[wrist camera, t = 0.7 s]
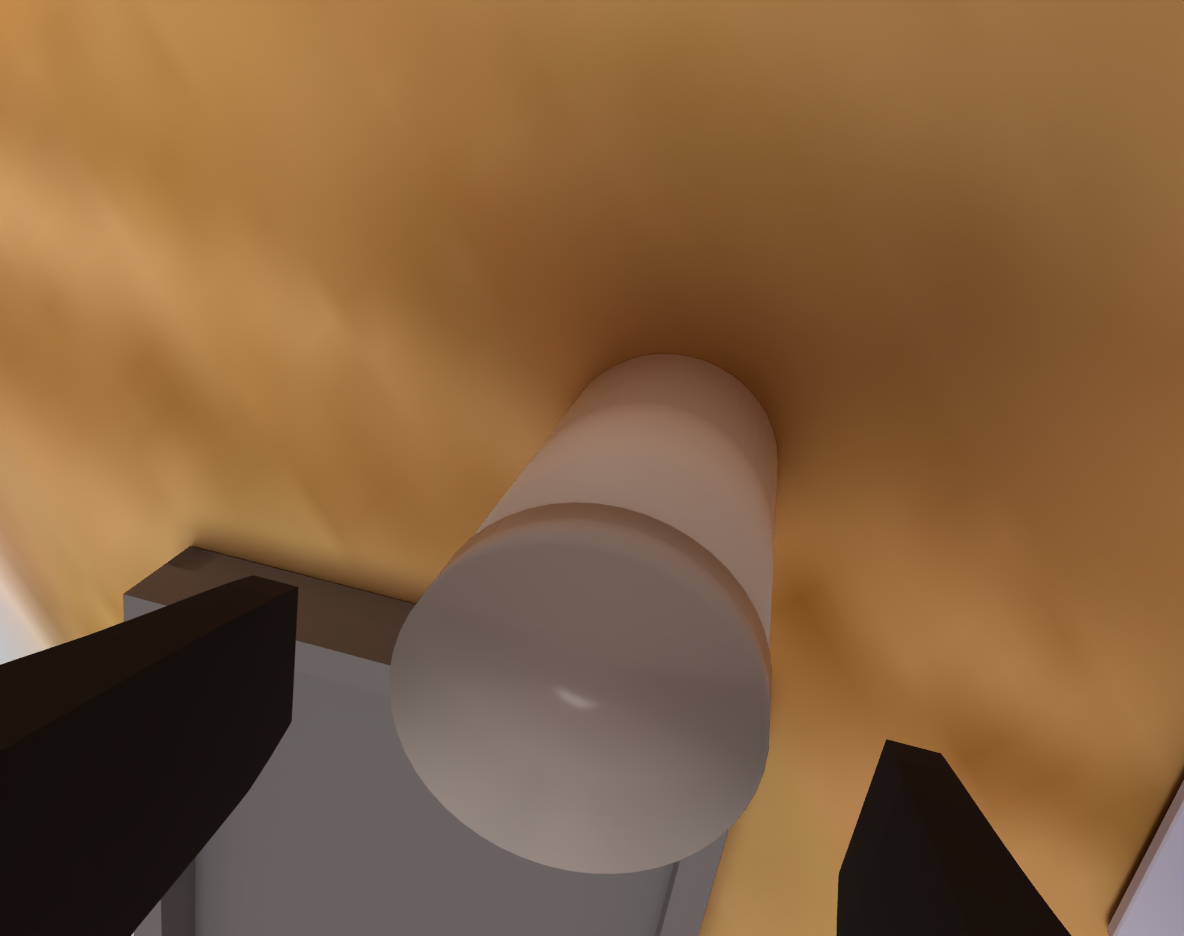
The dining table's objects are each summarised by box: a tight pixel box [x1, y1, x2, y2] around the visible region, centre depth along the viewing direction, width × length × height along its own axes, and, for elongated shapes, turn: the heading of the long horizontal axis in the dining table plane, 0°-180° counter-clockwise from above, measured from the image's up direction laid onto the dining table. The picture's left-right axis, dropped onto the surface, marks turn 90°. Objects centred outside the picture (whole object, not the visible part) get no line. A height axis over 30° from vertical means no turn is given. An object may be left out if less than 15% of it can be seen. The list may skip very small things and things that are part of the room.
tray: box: [123, 546, 728, 936], centre depth 24 cm, size 14×16×2 cm
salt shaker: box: [389, 354, 778, 874], centre depth 16 cm, size 5×5×9 cm
